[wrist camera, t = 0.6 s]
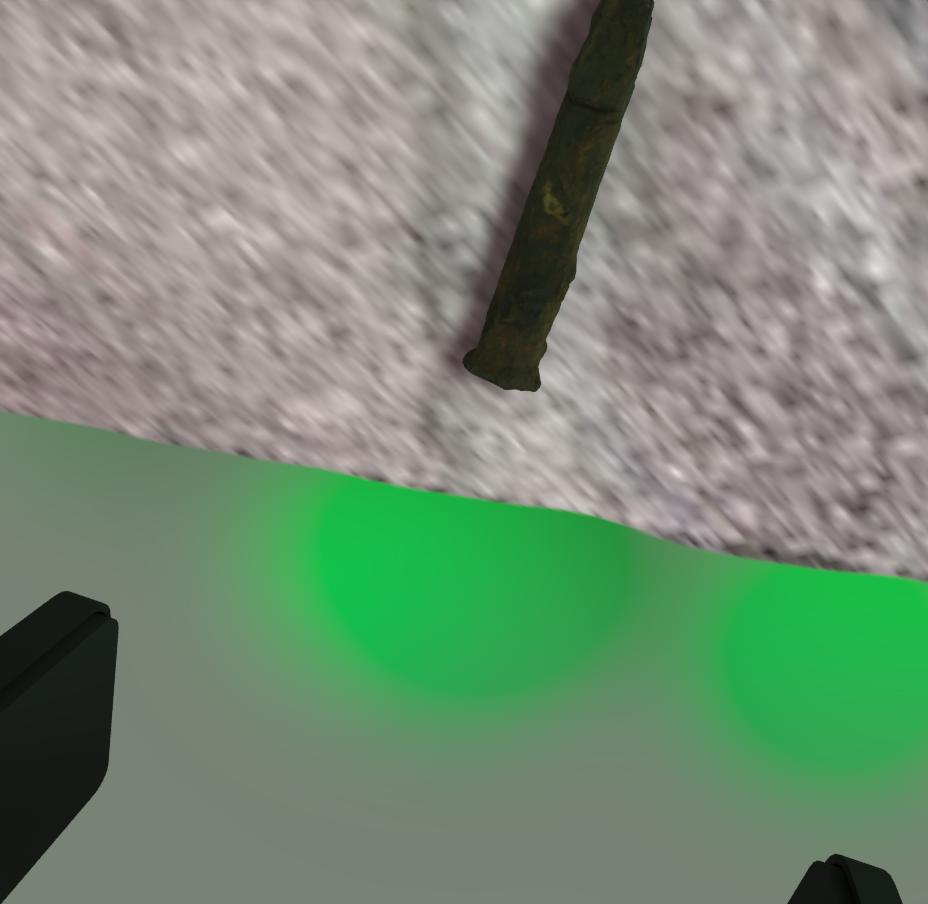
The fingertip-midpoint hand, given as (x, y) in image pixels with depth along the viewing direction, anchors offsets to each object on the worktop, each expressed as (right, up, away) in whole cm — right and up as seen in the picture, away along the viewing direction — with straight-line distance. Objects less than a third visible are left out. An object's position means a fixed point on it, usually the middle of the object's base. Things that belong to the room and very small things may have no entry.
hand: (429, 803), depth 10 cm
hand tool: (+5, +17, +26) cm, 32 cm away
